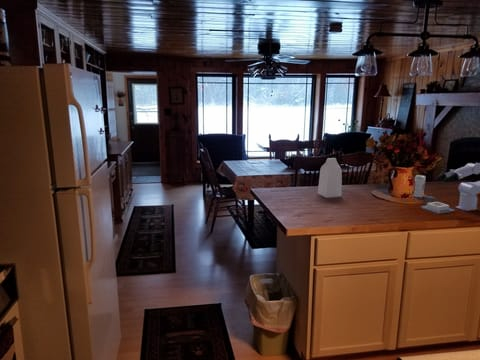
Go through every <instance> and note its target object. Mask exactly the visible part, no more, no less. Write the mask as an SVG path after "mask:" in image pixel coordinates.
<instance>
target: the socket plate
mask: <svg viewBox="0 0 480 360" xmlns="http://www.w3.org/2000/svg"><path fill="white" fill-rule="evenodd" d="M420 208H421V209H422V210H425V211H429V212H431V213H432V212H433V213H434V214H438V215H441V214H447V213H453V212H455V211H456V210H455V209H453V208H450V205H449V204H446V203H443V202H440V201H435V202H432V203H427V205H422V206H420Z"/></svg>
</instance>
